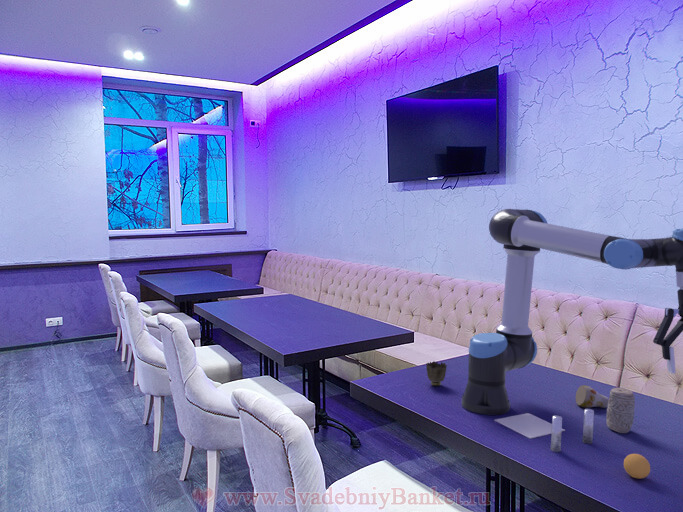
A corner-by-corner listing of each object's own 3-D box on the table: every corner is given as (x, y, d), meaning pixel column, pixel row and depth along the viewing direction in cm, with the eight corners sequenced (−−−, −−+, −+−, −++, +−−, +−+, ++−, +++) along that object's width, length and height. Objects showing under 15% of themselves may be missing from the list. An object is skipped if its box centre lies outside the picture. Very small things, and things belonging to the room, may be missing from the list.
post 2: (580, 441, 138) (582, 409, 138) (586, 439, 139) (588, 408, 139) (588, 444, 136) (590, 412, 135) (594, 443, 137) (596, 411, 136)
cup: (449, 384, 185) (449, 363, 184) (441, 390, 178) (442, 368, 178) (430, 380, 189) (430, 360, 188) (422, 385, 182) (423, 364, 182)
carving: (623, 436, 142) (626, 395, 141) (600, 426, 149) (602, 387, 148) (638, 433, 144) (641, 392, 144) (615, 423, 151) (617, 384, 150)
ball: (617, 474, 120) (619, 452, 120) (632, 469, 122) (633, 447, 122) (639, 485, 115) (641, 462, 115) (654, 480, 117) (656, 457, 117)
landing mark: (494, 420, 152) (494, 419, 151) (528, 413, 158) (528, 413, 158) (529, 438, 139) (530, 438, 139) (565, 430, 145) (565, 429, 145)
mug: (615, 412, 162) (605, 387, 159) (585, 421, 164) (574, 397, 162) (606, 398, 169) (596, 375, 166) (578, 408, 171) (567, 384, 169)
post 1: (548, 449, 133) (550, 416, 132) (555, 447, 134) (556, 414, 133) (556, 452, 131) (557, 419, 130) (562, 451, 132) (564, 418, 131)
